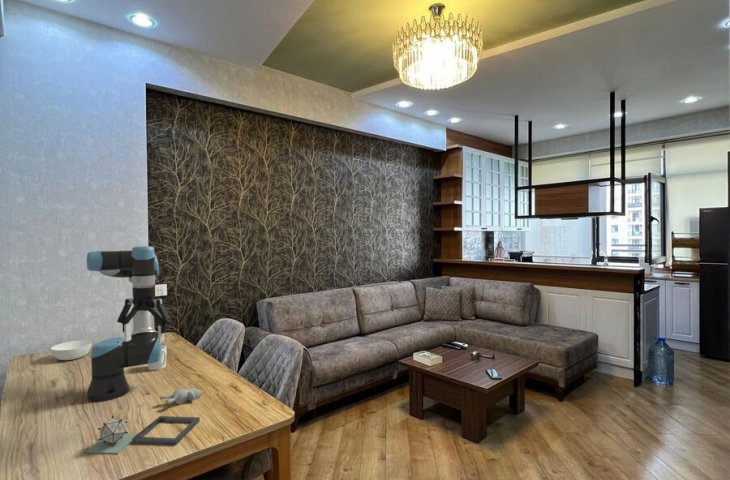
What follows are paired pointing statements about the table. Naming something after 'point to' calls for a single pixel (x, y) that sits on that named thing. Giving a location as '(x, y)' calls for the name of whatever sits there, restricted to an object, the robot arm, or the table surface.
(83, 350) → the bowl
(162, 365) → the mug
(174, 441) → the socket frame
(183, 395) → the grey teddy bear
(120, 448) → the pad
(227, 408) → the table surface
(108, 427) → the game die
